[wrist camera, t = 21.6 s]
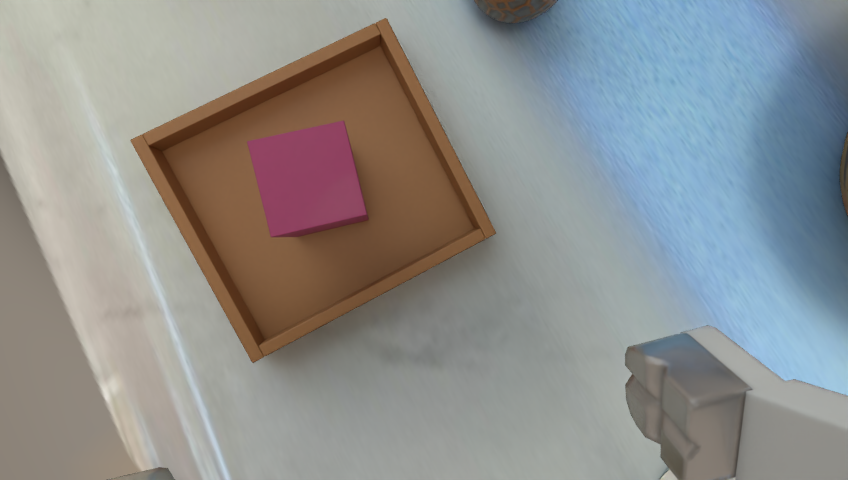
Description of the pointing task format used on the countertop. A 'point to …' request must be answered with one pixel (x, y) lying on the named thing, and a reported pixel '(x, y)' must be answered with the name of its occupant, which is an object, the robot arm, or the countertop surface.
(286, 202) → the pink block
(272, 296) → the tray
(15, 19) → the countertop surface
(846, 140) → the bowl
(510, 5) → the vase
